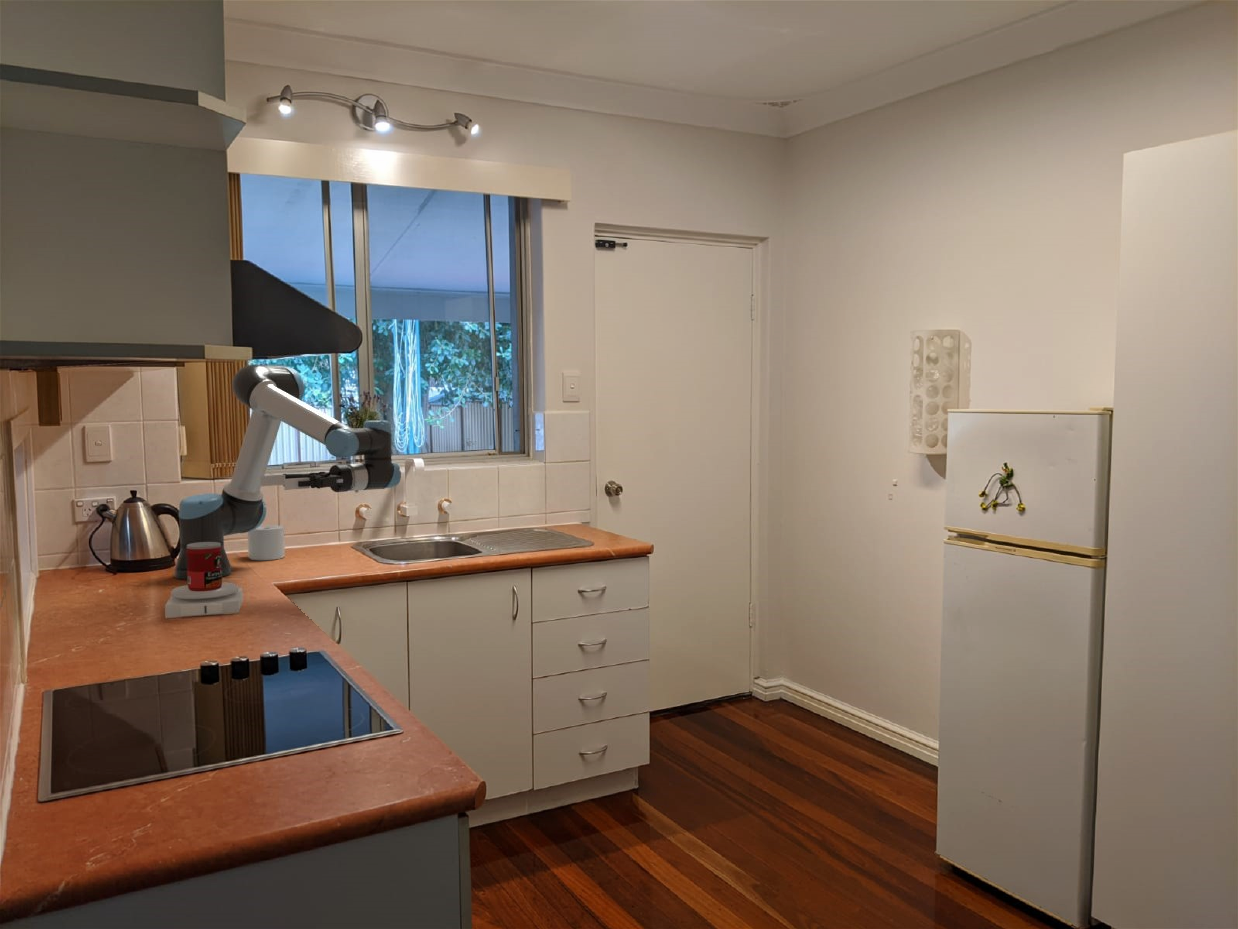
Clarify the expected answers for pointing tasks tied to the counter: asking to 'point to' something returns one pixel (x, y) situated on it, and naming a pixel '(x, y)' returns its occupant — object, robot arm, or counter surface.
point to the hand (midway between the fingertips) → (272, 482)
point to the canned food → (204, 566)
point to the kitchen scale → (204, 601)
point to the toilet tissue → (266, 543)
